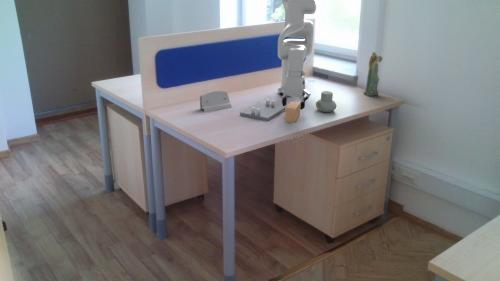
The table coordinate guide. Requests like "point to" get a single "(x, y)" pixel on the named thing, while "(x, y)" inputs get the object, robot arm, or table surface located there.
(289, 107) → the block
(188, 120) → the table surface
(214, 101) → the hinge
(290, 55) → the robot arm
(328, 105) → the grey green vase
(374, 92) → the statue
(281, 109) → the base plate
